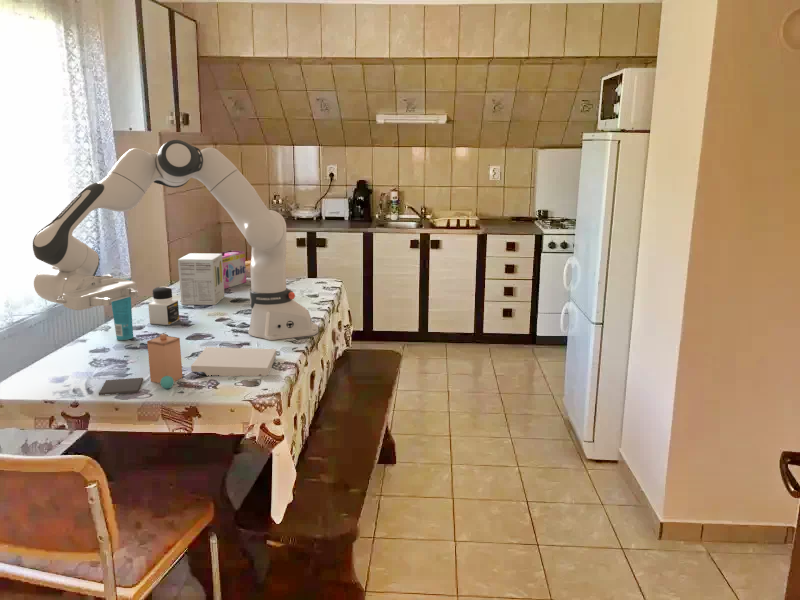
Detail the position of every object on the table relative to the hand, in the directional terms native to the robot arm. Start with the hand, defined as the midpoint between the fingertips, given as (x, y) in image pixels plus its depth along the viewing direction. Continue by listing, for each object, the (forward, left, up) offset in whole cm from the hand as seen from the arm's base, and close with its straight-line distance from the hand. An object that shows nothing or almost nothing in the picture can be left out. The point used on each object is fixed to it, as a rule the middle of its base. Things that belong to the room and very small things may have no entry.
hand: (123, 298), depth 173 cm
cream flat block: (-27, +1, -21) cm, 35 cm away
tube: (+7, -33, -21) cm, 39 cm away
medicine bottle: (-3, -50, -21) cm, 54 cm away
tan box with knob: (-10, +7, -21) cm, 24 cm away
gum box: (-20, -102, -21) cm, 106 cm away
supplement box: (-14, -78, -21) cm, 82 cm away
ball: (-11, +14, -21) cm, 27 cm away
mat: (+1, +11, -21) cm, 23 cm away
